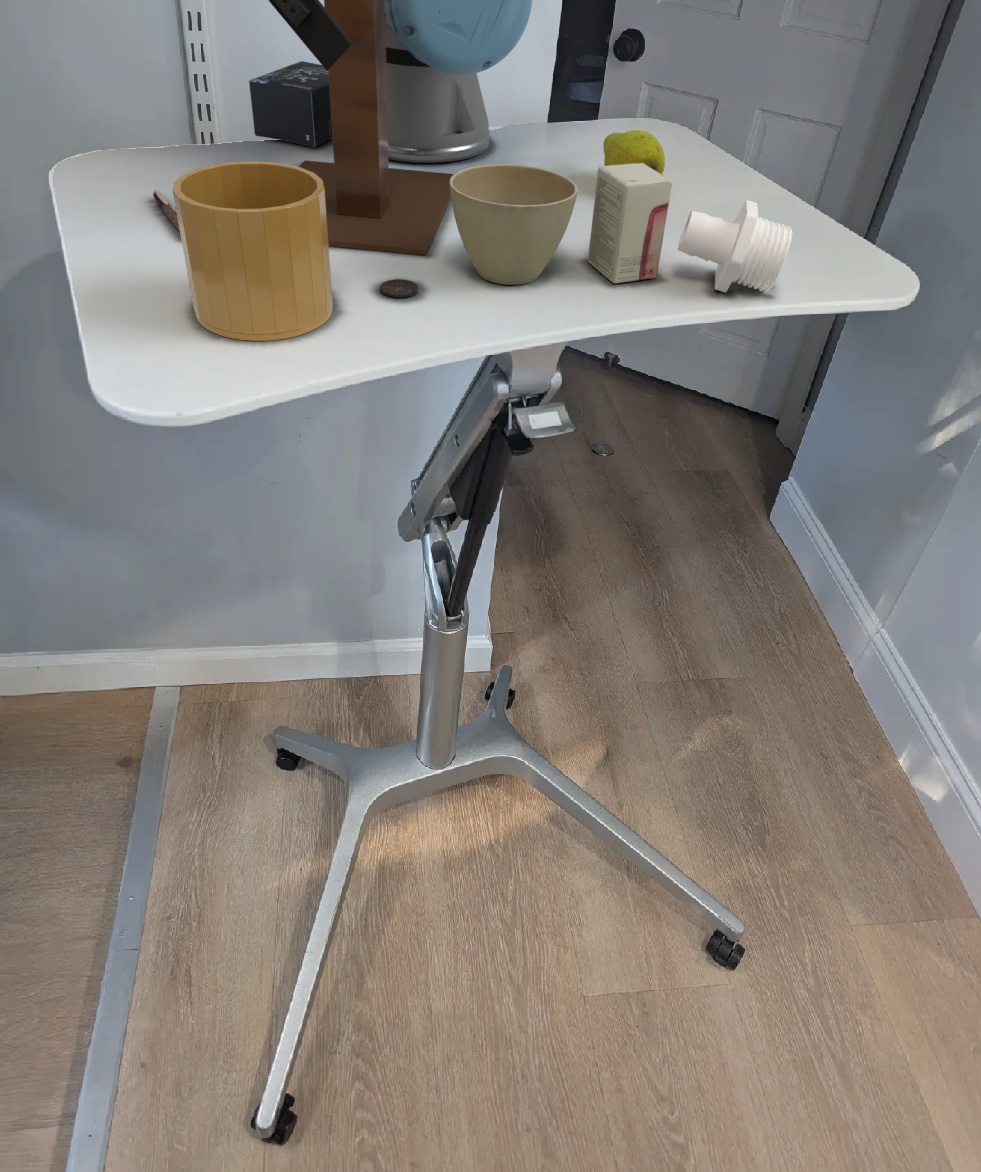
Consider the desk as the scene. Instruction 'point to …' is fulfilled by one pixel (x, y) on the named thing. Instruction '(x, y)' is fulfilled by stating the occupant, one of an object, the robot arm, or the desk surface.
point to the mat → (389, 212)
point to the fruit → (634, 150)
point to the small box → (628, 221)
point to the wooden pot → (255, 249)
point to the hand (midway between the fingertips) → (358, 42)
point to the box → (293, 104)
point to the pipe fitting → (738, 247)
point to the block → (360, 109)
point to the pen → (166, 207)
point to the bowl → (511, 218)
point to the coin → (399, 288)
